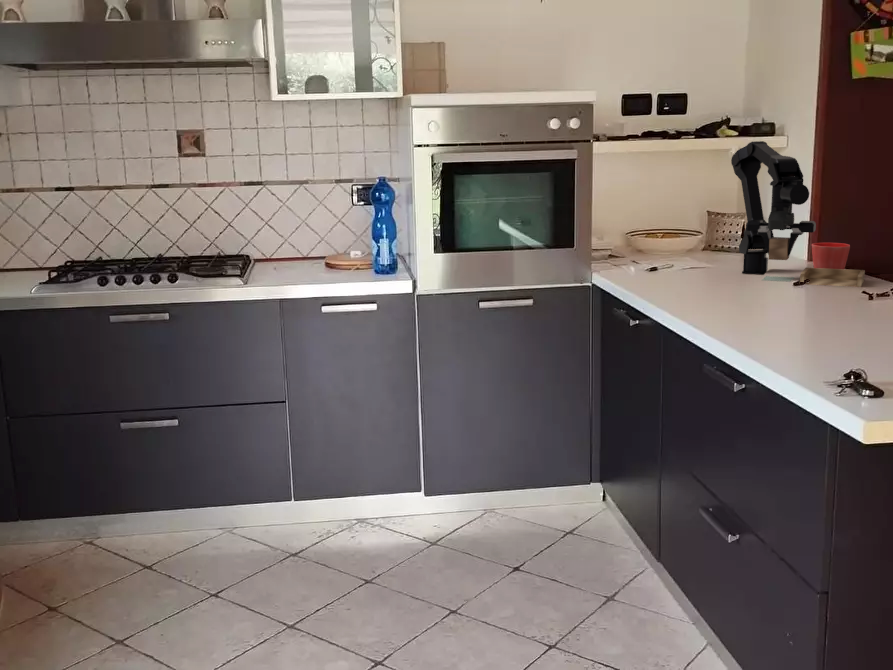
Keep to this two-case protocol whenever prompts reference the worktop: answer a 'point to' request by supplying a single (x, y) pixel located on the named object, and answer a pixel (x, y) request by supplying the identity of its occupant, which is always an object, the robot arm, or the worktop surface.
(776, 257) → the block
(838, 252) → the flower pot
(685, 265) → the worktop surface
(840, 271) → the crate
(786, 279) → the mat
